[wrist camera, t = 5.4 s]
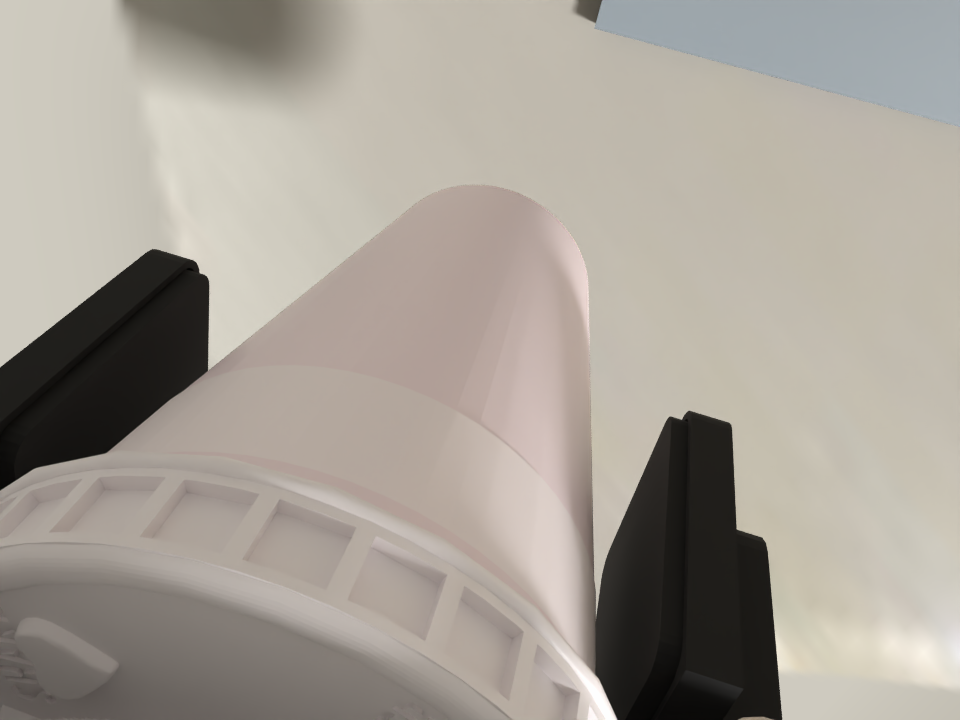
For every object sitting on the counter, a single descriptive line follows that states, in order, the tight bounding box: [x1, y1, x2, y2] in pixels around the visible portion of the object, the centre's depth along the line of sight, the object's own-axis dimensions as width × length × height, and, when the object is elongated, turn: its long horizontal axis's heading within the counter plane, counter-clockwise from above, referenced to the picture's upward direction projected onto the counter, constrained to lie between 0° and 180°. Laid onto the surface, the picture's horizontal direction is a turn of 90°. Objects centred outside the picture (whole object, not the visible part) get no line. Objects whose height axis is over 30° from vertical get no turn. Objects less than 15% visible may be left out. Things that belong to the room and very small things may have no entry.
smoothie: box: [0, 185, 617, 720], centre depth 9 cm, size 6×6×14 cm
